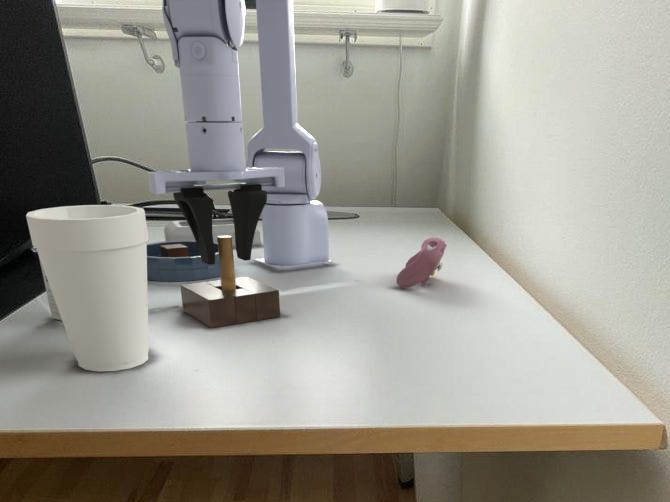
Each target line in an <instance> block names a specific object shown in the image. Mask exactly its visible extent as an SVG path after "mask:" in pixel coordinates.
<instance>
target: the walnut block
mask: <svg viewBox="0 0 670 502" xmlns="http://www.w3.org/2000/svg"><path fill="white" fill-rule="evenodd" d="M160 248H161V255H162V257H189V255H188V247H186V246H184V245H182V244H172V245H162V246H160Z"/></svg>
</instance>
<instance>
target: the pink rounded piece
mask: <svg viewBox="0 0 670 502" xmlns="http://www.w3.org/2000/svg"><path fill="white" fill-rule="evenodd" d="M447 246H448V245H447V243H446V241H445V240H443V239H442V238H440V237H428V238H427V239H425V240H424V241H423V242H422V244H421V247H420V250H419V251H418V252H416V253H415V254H414V255H413V256H411V257H410V258H409V259H408V260H407V262H406V263H405V267H403V268H402V270H400V271H399V273H398V274H397V276H396V280H395V281H396V284H397V286H398V288H401V289H406V288H411V287H414V286H416V285H418V284H419V283H420V284H422V285H424V286H425V285H426V284H427V282H428V281H429V279H430V277H433V276H435V273H436V271H437V272H440V271H441V270H442V268H443V264H444V263H443V262H441V261H442V258H443V256H444V254H445V251H446V248H447Z"/></svg>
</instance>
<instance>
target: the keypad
mask: <svg viewBox="0 0 670 502" xmlns="http://www.w3.org/2000/svg"><path fill="white" fill-rule="evenodd" d="M163 232H164V239H165V241H164V242H167V241H196V240H195V238H194V235H193V233H192V231H191V228H190V226H189V224H188V222H187V220H172V221H169V223H167V224H166V225H165V226H164V229H163ZM212 234H213V242H217V236H222V235H228V236H232V246H233V247H236V244H235V228H234V221H233V218H214V219H213V218H212ZM256 245H262V240H261V231H260V230H259V229H258V228H256V230H255V234H254V239H253V244H252V246H256Z"/></svg>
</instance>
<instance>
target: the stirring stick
mask: <svg viewBox="0 0 670 502" xmlns="http://www.w3.org/2000/svg"><path fill="white" fill-rule="evenodd" d="M217 243H218V254H219V265H220V275H221V276H220V280H221V286H222V291H228V290H235V289H236V282H235V278H236V271H235V270H236V269H235V259H234V246H232V236H228V235H222V236H217Z"/></svg>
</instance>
